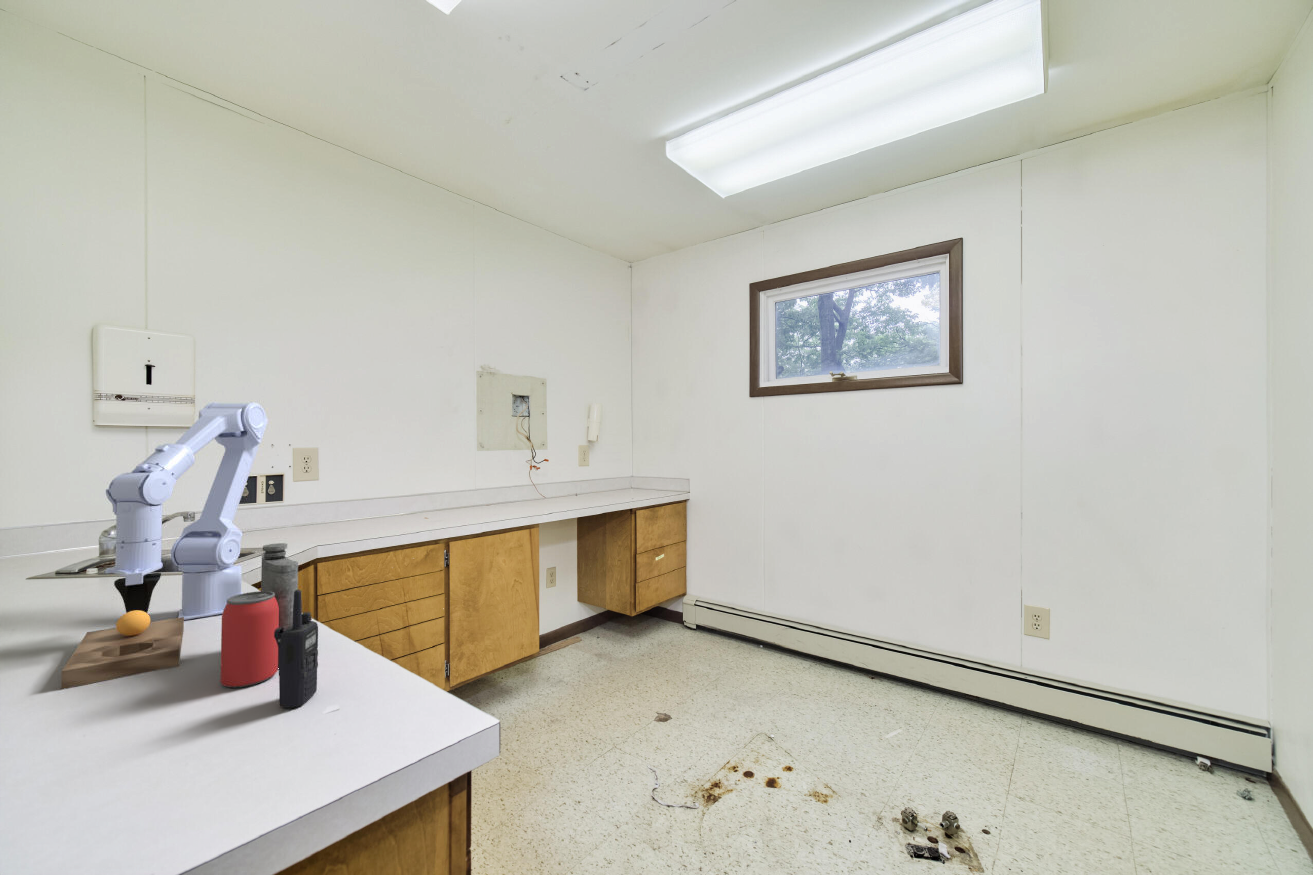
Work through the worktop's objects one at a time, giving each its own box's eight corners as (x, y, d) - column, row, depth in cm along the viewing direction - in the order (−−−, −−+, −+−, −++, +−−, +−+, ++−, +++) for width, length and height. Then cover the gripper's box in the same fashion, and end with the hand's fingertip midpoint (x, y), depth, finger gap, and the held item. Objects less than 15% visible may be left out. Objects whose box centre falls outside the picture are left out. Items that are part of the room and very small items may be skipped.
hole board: (183, 630, 95) (183, 616, 95) (178, 665, 80) (179, 649, 80) (86, 646, 87) (87, 632, 87) (61, 689, 72) (61, 671, 72)
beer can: (287, 674, 77) (289, 593, 77) (236, 693, 71) (238, 605, 71) (261, 666, 79) (263, 588, 80) (210, 684, 73) (211, 599, 74)
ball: (151, 629, 88) (151, 605, 88) (149, 635, 85) (149, 611, 85) (117, 634, 86) (118, 610, 86) (114, 641, 83) (114, 616, 83)
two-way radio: (300, 710, 66) (302, 592, 67) (262, 712, 66) (264, 594, 66) (321, 690, 72) (323, 581, 72) (286, 692, 71) (288, 582, 71)
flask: (269, 672, 77) (271, 551, 78) (253, 646, 87) (255, 539, 88) (298, 665, 80) (300, 548, 80) (280, 640, 90) (281, 537, 90)
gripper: (112, 537, 94) (110, 612, 94) (99, 549, 83) (97, 634, 83) (165, 533, 98) (164, 604, 98) (160, 544, 88) (158, 624, 87)
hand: (137, 618), depth 91 cm, fingers closed
